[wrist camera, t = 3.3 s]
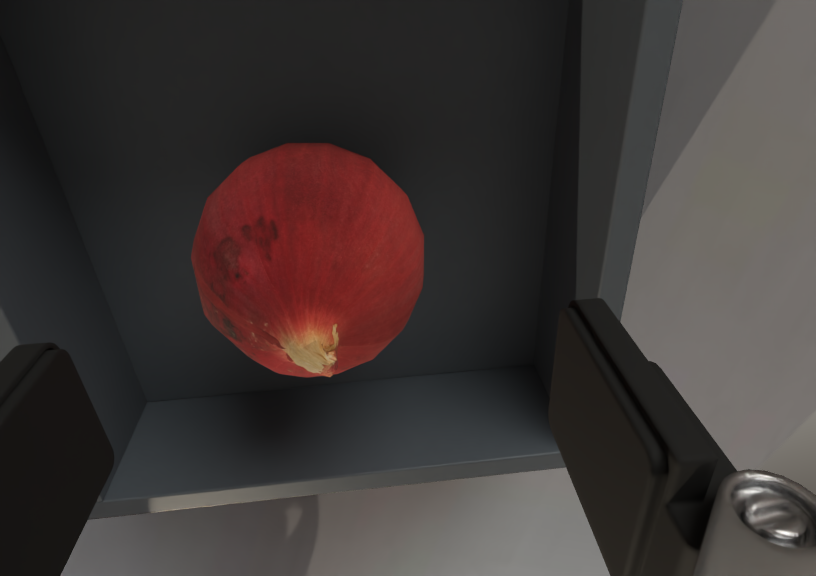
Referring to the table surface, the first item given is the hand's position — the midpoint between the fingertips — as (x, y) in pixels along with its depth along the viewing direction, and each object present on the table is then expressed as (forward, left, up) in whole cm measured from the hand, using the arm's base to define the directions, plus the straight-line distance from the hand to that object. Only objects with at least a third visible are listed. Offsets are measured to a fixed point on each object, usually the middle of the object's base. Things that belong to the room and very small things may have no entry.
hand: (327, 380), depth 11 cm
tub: (0, 0, -9) cm, 9 cm away
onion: (0, 0, -8) cm, 8 cm away
